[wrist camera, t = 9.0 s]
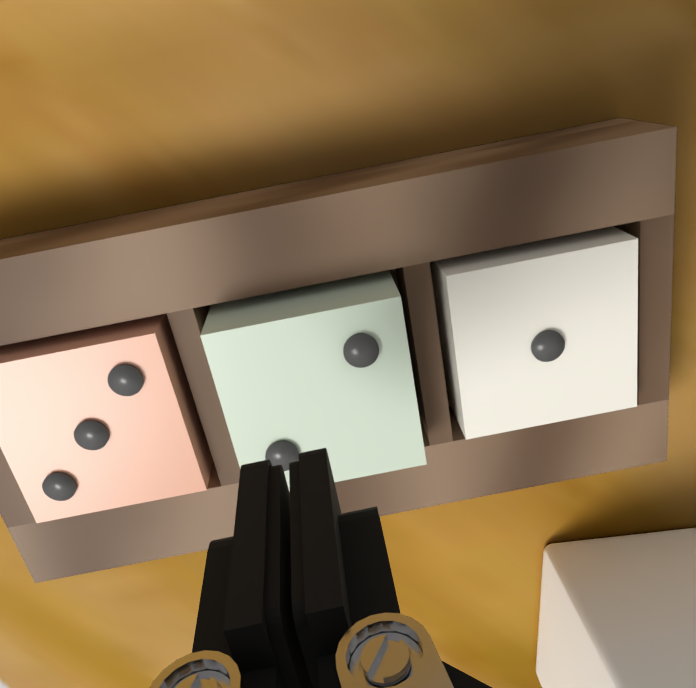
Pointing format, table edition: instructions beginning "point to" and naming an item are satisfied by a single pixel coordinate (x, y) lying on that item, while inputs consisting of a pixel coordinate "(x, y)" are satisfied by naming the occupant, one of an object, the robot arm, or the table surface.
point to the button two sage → (318, 376)
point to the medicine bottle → (619, 612)
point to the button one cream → (539, 330)
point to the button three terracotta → (100, 419)
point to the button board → (339, 263)
